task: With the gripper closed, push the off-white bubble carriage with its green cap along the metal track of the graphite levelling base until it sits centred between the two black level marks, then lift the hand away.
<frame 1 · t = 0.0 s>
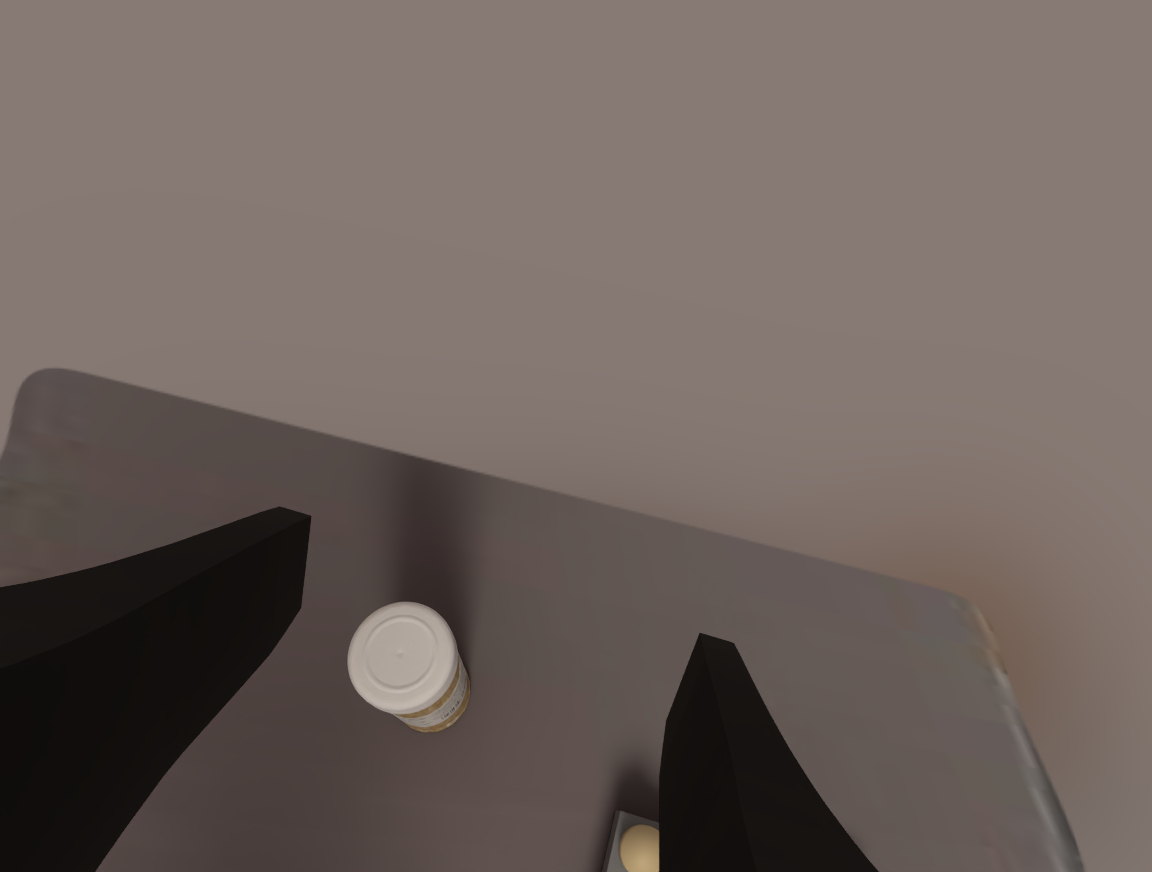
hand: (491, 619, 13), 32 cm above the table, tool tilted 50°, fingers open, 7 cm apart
sprinkles bottle: (432, 693, 43), on the table
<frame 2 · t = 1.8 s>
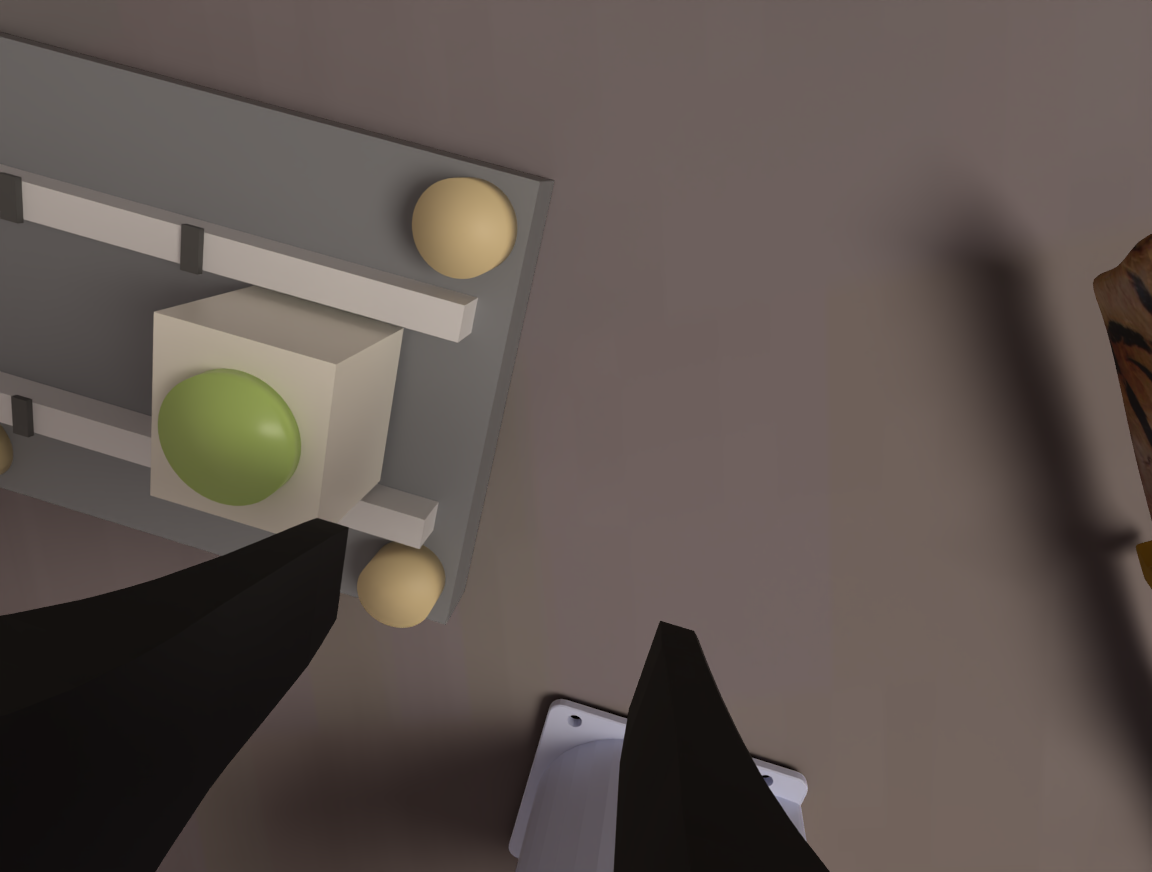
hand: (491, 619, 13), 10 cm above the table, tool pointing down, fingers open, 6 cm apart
levelling base: (237, 332, 23), on the table
bubble carriage: (276, 411, 19), point 5 cm above the table, slide at -6.0 cm
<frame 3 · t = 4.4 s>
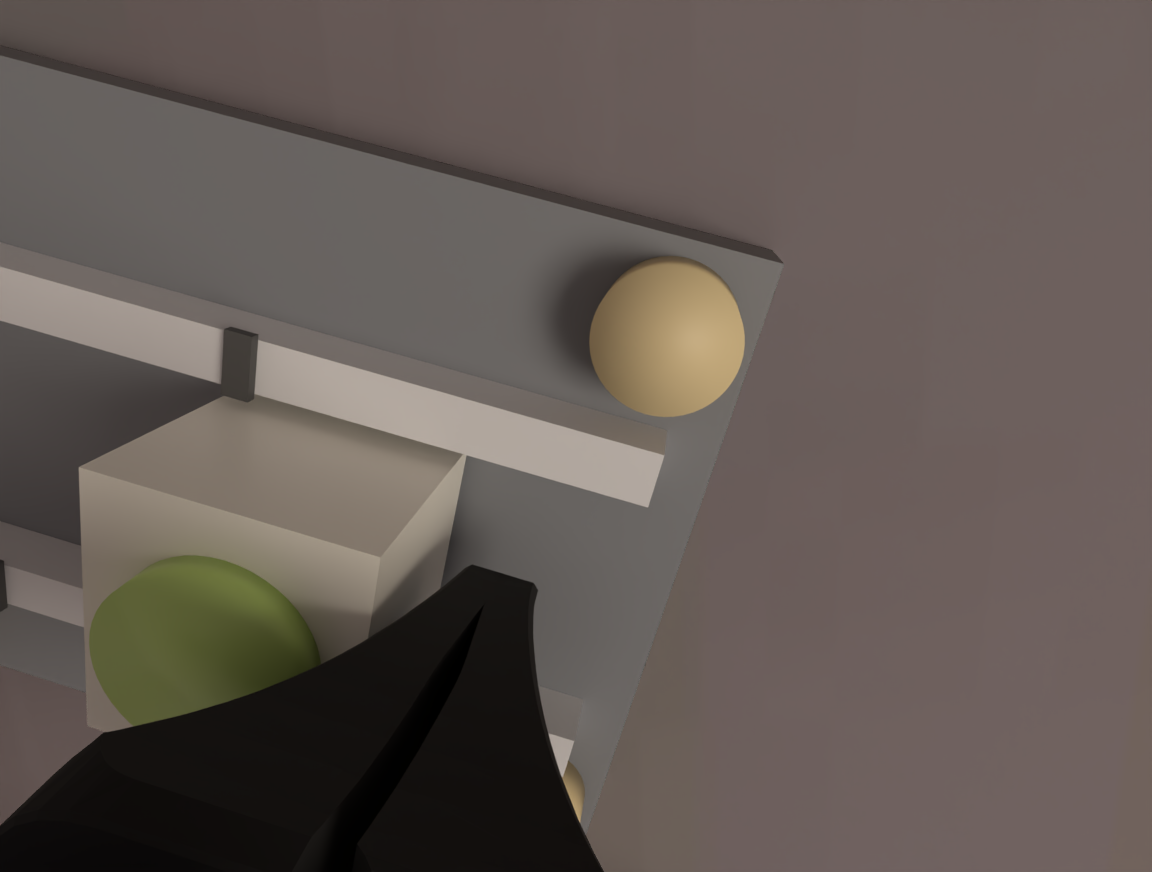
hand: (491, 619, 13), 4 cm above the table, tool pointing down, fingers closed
levelling base: (291, 450, 17), on the table
bubble carriage: (280, 587, 12), point 5 cm above the table, slide at -4.4 cm, touching gripper
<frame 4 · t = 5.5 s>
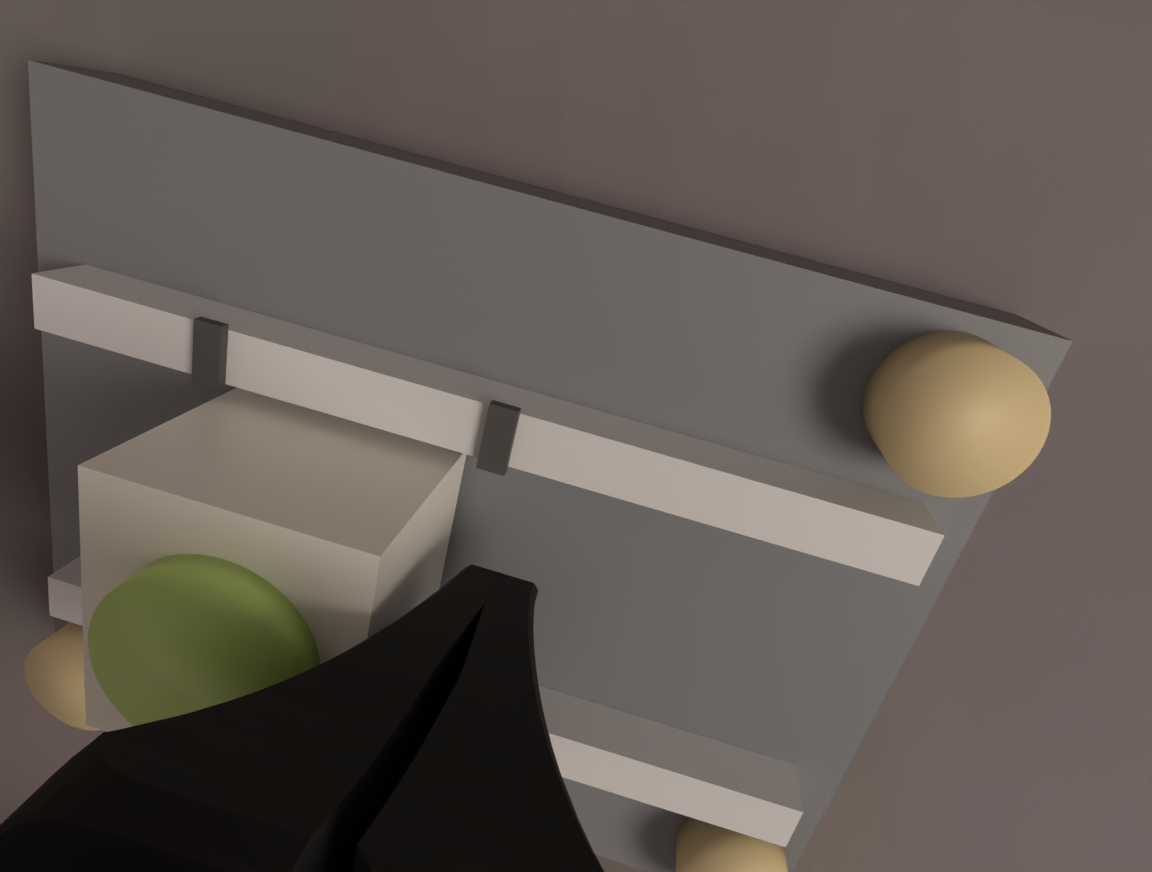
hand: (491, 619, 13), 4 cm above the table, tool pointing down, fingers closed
levelling base: (482, 505, 16), on the table
bubble carriage: (280, 586, 12), point 5 cm above the table, slide at 0.3 cm, touching gripper
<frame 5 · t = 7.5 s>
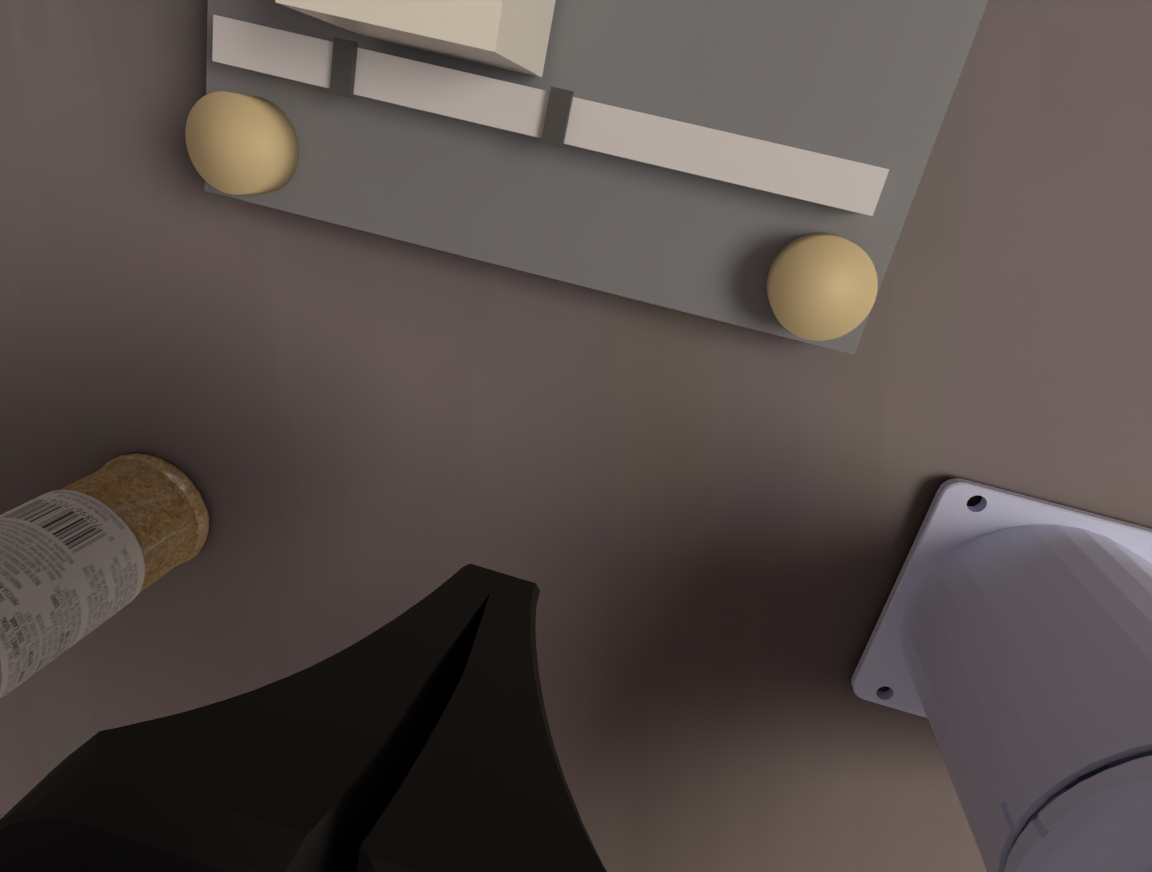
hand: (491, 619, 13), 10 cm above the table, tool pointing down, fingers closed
sprinkles bottle: (163, 504, 27), on the table
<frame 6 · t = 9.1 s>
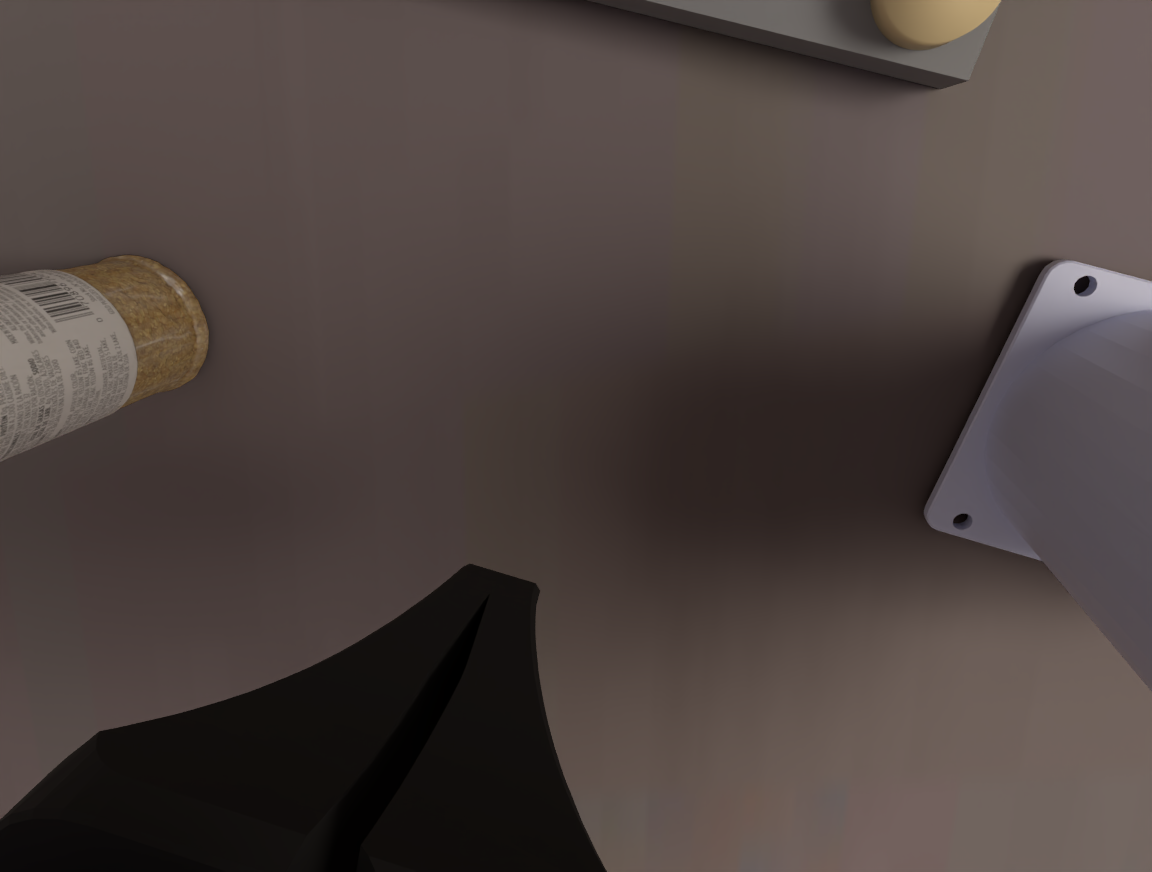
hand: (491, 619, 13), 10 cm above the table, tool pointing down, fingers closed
sprinkles bottle: (157, 321, 24), on the table
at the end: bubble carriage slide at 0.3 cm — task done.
